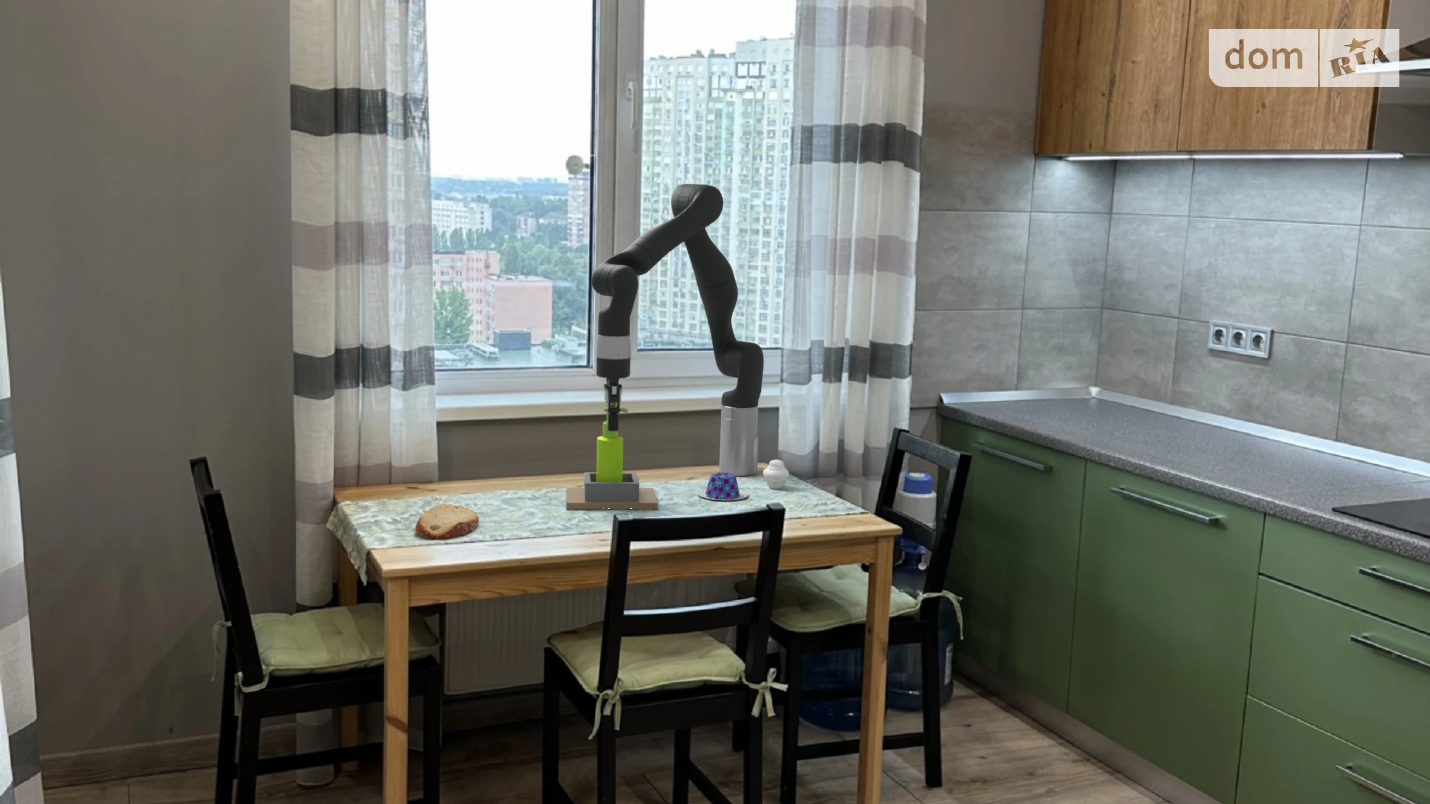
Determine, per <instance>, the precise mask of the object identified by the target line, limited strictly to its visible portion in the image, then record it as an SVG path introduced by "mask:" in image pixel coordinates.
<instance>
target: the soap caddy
mask: <svg viewBox="0 0 1430 804" xmlns="http://www.w3.org/2000/svg"><path fill="white" fill-rule="evenodd" d="M583 475H584V477H583V479H584V480H583V481H584V482H583V483H584V484H583V487H566V488H565V492H566V493H565V498H566V500H565V501H566V502H565V503H566V504H565V505H566V506H565V507H566V509H565V510H575V509H603V508H604V509H608V508H610V509H619V510H625V509H630V508H632V509H658V508H659V507H658V505H659V502H658V500H657V499H658V498H657V496H656V492H655V489H654V487H640V480H639V476H638V473H637V472H636V471H635V472H626V471H625V472H624V471H623V480H622V482H596V471H594V472H593V471H592V472H590V471H589V472H588V471H585V472H583ZM658 510H659V509H658Z"/></svg>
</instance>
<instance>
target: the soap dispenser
mask: <svg viewBox="0 0 1430 804" xmlns="http://www.w3.org/2000/svg"><path fill="white" fill-rule="evenodd" d="M607 410H608V407H604V408H603V412H606V420H605V421H603V422H602V435H600V436H597V438H596V471H595V472H596V482H622V480H623V472H624V471H623V468H624V438H623V437H622V436H619V430H618V431H609V430H608V413H607ZM628 412H629V409H627V408H624V407H620V413H628Z"/></svg>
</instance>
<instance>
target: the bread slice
mask: <svg viewBox="0 0 1430 804" xmlns="http://www.w3.org/2000/svg"><path fill="white" fill-rule="evenodd" d="M479 524H480V518H479V516H478V515H477V512H476V511H474V510H473V509H471V508H468V507H465V506H461V505H456V504H450V503H441V504H439V505H435V506H432V507H431V508H429V509H428V510H426V511H425V512H423V513H422V514H421V515H420V516H419V517H418V521H417V523H416V524H415V528H414V529H415V532H416V533H417V534H418V535H419V536H420V537H421V538H423V539H426V540H429V541H441V540H442V541H443V540H444V541H445V540H446V541H447V540H451V539H453V538H458V537H462V536H465V535H468V534H470V533H473V532H474V531H475V530H476V529H477V528H478V527H479Z"/></svg>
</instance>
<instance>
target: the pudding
mask: <svg viewBox="0 0 1430 804" xmlns="http://www.w3.org/2000/svg"><path fill="white" fill-rule="evenodd" d="M696 494H697V495H698V496H699V497H702V498H705V499H709V500H711V499H712V500H713V501H714V500H715V501H722V500H723V501H736V500H741V499H745V498H747V497H749V493H748V492H746V491H745V490H742V489H739V485H738V480H737V477H736V476H735V475H734V474H731V473H721V472H714V473H711V475H710V476H709V480H708V483H707V487H706V488H702V489H699V490H697V491H696ZM702 494H706V495H707V496H706V495H705V496H703V495H702ZM710 498H711V499H710ZM713 498H714V499H713Z"/></svg>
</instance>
